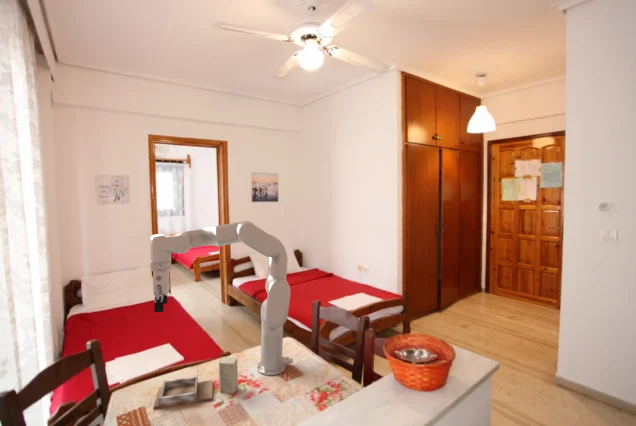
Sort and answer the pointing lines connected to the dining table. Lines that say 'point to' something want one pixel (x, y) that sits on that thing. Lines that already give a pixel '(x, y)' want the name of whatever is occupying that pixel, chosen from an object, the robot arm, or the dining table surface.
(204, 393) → the box stand
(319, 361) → the dining table surface
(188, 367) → the dining table surface
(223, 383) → the skincare box
